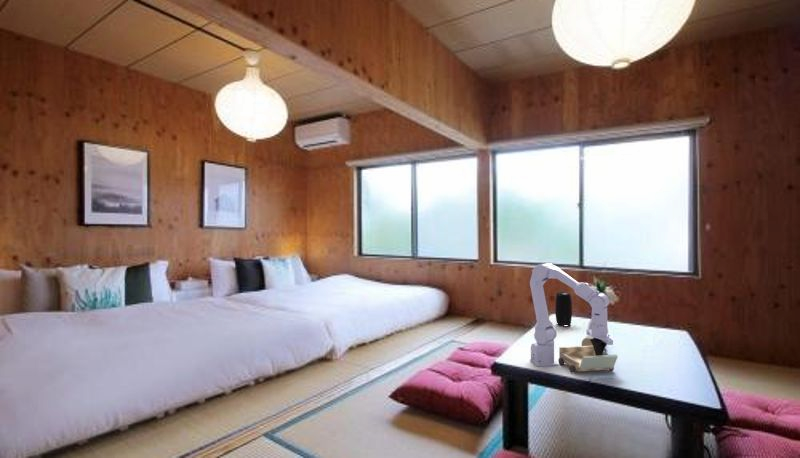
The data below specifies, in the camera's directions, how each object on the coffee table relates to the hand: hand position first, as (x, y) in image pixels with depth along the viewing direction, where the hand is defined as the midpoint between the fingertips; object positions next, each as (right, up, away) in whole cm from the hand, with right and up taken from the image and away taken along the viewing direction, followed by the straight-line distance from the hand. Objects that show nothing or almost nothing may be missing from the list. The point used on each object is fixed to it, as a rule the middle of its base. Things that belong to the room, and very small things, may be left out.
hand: (598, 357), depth 164 cm
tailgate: (0, -5, +2) cm, 5 cm away
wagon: (-1, -8, +10) cm, 12 cm away
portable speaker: (+18, -6, +80) cm, 83 cm away
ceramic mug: (+13, -7, +31) cm, 34 cm away
